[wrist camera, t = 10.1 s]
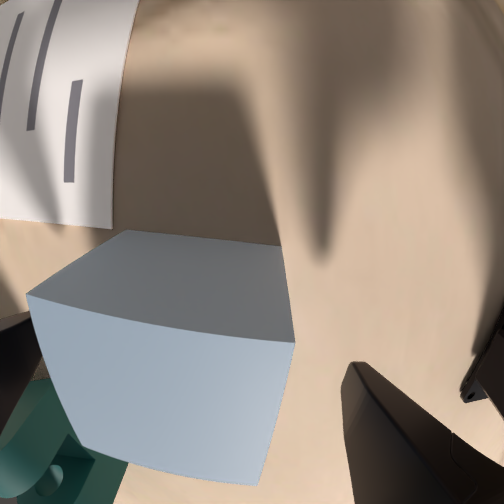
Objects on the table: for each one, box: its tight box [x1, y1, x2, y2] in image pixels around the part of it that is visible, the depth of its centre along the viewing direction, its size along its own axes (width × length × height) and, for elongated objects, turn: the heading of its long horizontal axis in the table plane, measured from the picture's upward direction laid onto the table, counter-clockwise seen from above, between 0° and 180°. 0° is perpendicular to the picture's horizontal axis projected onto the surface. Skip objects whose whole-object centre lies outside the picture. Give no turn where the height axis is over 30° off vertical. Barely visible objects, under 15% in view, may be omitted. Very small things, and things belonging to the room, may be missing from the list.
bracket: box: [0, 378, 129, 504], centre depth 10 cm, size 18×7×8 cm, turn 113°
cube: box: [26, 230, 295, 486], centre depth 7 cm, size 5×5×5 cm
